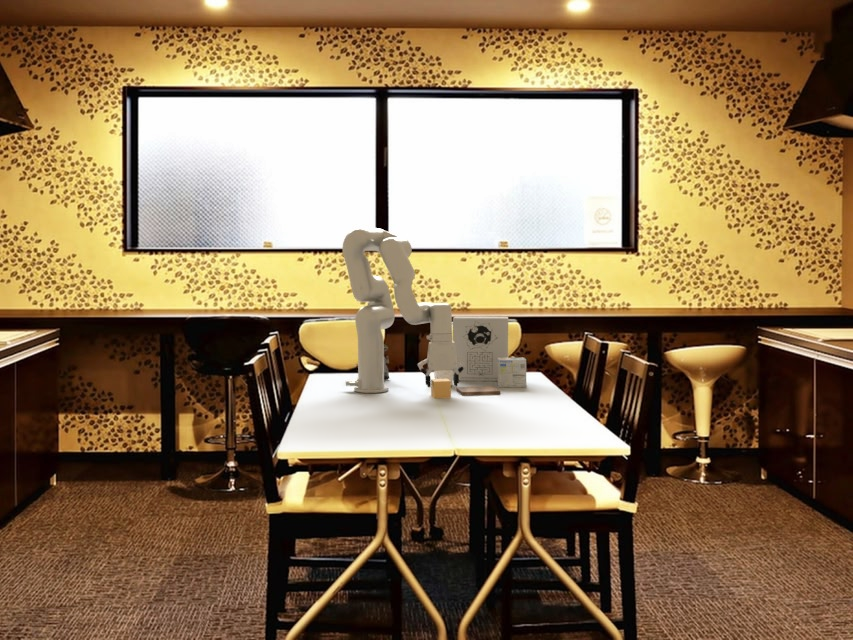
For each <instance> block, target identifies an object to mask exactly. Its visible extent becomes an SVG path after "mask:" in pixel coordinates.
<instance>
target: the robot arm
mask: <svg viewBox="0 0 853 640" xmlns="http://www.w3.org/2000/svg"><path fill="white" fill-rule="evenodd" d="M344 237H345V238H344V239H343V242H342V255H343V259H344V262H345V265H346V270H347V274H348V279H349V282H350V283H349V284H350V288H351V291H352V295H353V297H354V299H355V300H356V301H357V302H360V303H368V305H364V306H362V307H361V308H360V309H358V311H357V312H356V314H355V317H354V319H355V322H354V323H355V327H356V328H355V329H356V334H357V359H358V360H357V362H358V363H357V364H358V367H357V368H358V370H357V372H358V373H357V374H358V375H357V377H356V379H354V380H345V386H346V387H349V386H350V387H353V386H354V387H353V391H354V392H356V393H362V394H363V393H364V394H377V393H378V394H379V393H384V392H387V391H389V386H387V385H385V379H384V356H385V355H384V354H385V351H384V341H385V340H384V336H383V333H382V332H383V331H382V330H385V329H388V328H390V327H391V326H392V325H393V324H394V321H395V310H394V304H393V301H392V295H391V293H390V292H391V291H390V289H389V286H388V283H387V282H386V280H385V279H384V278H383V277H381V276H378V275H373V272H372V268H371V264H370V261H369V259H368V257H367V256H366V254H365V252H367V251H369V252H378V253H379V254H380V257H381V258H382V261H383V263H384V265H385V267H386V269H387V272H388V273H389V275H390V277H391V280H392V282H393V292H394V294H393V295H394V301H395V303H396V306H397V308H398V309H399V312H400V314H401V316H402V317H403V319H404V320H405V321H406V323H408V324H410V325H413V326H414V325H415V326H417V325H421V324H428V323H430V333H429V334H428V335H426V339H427V340H429V342H428V346H427V358H425V359H424V360H421V361H420V362H418V363H417V367H418V368H419V370H420V372H421V373H423V375H425V377H424V378H425V385H426V387H427V388H431V379H432V378H431V373H432V372H434V371H445V370H453V371H454V372H455V373H454V380H453V385H454V386H455V387H458V384H459V383H460V381H459V374H460V373H461V371H462V370H463V369H464V367H465V365H466V362H465V361H463V360H461V359H459V358H457V357H456V348H455V343H454V342H453V317H452V314H453V313H452V305H451V304H450V303H448V302H447V303H446V302H439V303H437V302H436V303H433V302H428V301H426V302H425V301H424V302H423V301H422V302H417V300H416V297H415V296H414V295H415V294H414V292H413V288H412V287H413V285H412V284H413V281H414V278H415V276H416V271H415V269H414V268H413V266H412V264H411V261H410V260H409V258H410V257H411V254H412V245H411V243H410V241H409V240H408V239H406V238H405V237H402V236H400V235H398V234H395V233H392V232H389V231H387V230H384V229H382V228H377V227H357V228H355V229H351V230H350V231H349V232H348V233H347V234H346V235H345V236H344ZM457 362H459V363H461V366H460V367H459V368H458V369H456V368H457ZM426 364H427V368H426V369H424V368H425V367H423V366H424V365H426Z"/></svg>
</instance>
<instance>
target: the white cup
mask: <svg viewBox="0 0 853 640" xmlns="http://www.w3.org/2000/svg"><path fill="white" fill-rule="evenodd" d="M433 373H434V376H433V377H434V379H449V380H450V381H451V386H453V385H454V380H453V370H445V371H433Z"/></svg>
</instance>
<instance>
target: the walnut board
mask: <svg viewBox="0 0 853 640" xmlns="http://www.w3.org/2000/svg"><path fill="white" fill-rule="evenodd" d="M455 391H456V392H457V393H458V394H460V395H461V396H486V395H489V396H490V395H501V390H499V389H498V388H496V387H495V386H493V385H491V386H490V385H489V386H461V387H460V386H459V387H458V386H455Z"/></svg>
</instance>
